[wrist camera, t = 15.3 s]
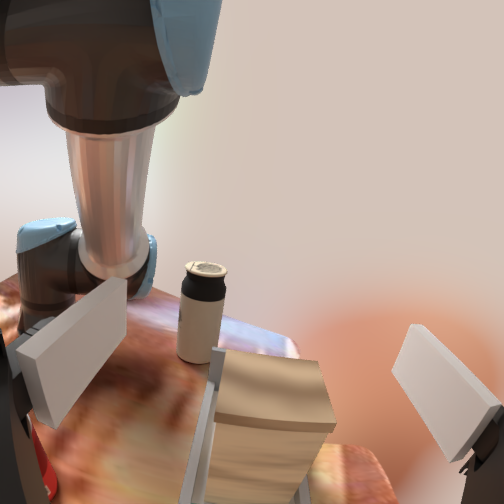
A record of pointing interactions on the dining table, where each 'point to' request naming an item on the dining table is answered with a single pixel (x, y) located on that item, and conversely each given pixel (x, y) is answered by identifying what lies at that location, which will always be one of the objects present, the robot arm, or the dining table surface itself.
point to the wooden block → (266, 428)
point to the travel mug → (200, 311)
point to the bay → (203, 439)
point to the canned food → (44, 465)
